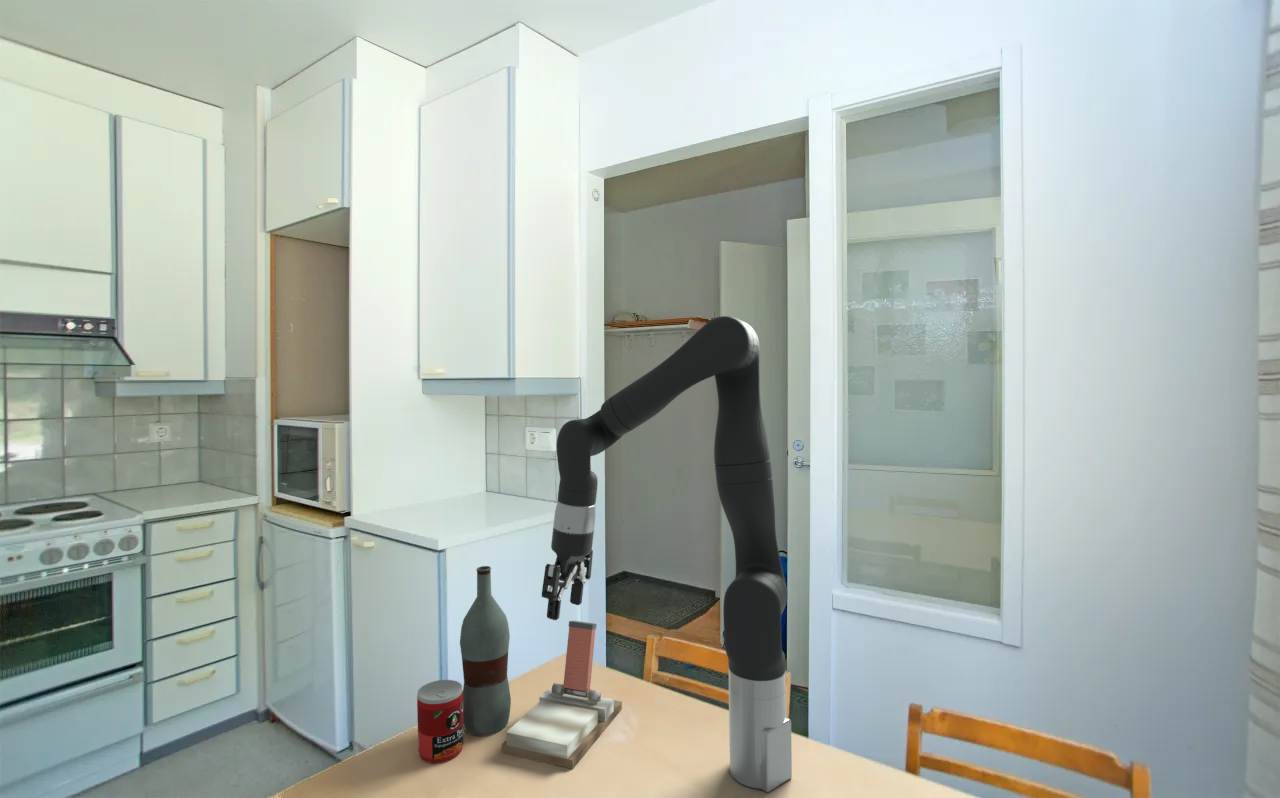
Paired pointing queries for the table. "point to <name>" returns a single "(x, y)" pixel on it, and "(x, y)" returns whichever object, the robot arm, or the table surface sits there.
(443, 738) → the canned food
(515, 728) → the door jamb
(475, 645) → the bottle
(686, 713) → the table surface
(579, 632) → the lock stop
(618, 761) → the table surface
